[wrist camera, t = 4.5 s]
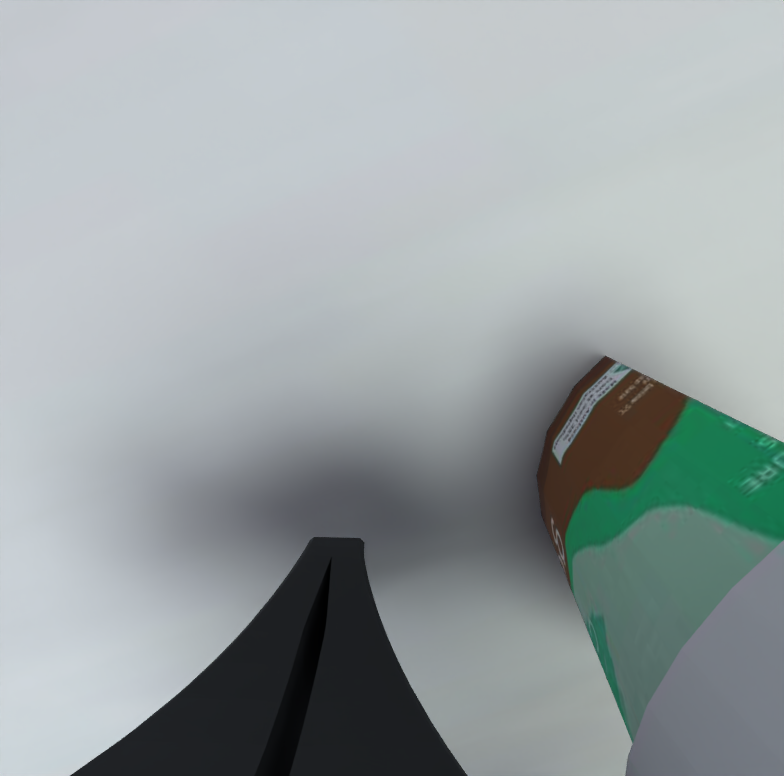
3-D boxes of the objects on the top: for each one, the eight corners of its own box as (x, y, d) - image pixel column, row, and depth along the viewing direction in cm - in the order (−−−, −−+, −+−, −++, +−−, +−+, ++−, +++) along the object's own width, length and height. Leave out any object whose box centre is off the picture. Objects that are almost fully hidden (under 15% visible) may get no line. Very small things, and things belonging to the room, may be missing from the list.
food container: (411, 462, 13) (454, 1014, 4) (572, 318, 12) (1271, 648, 2) (646, 669, 16) (1000, 1278, 7) (800, 574, 15) (1528, 1183, 5)
